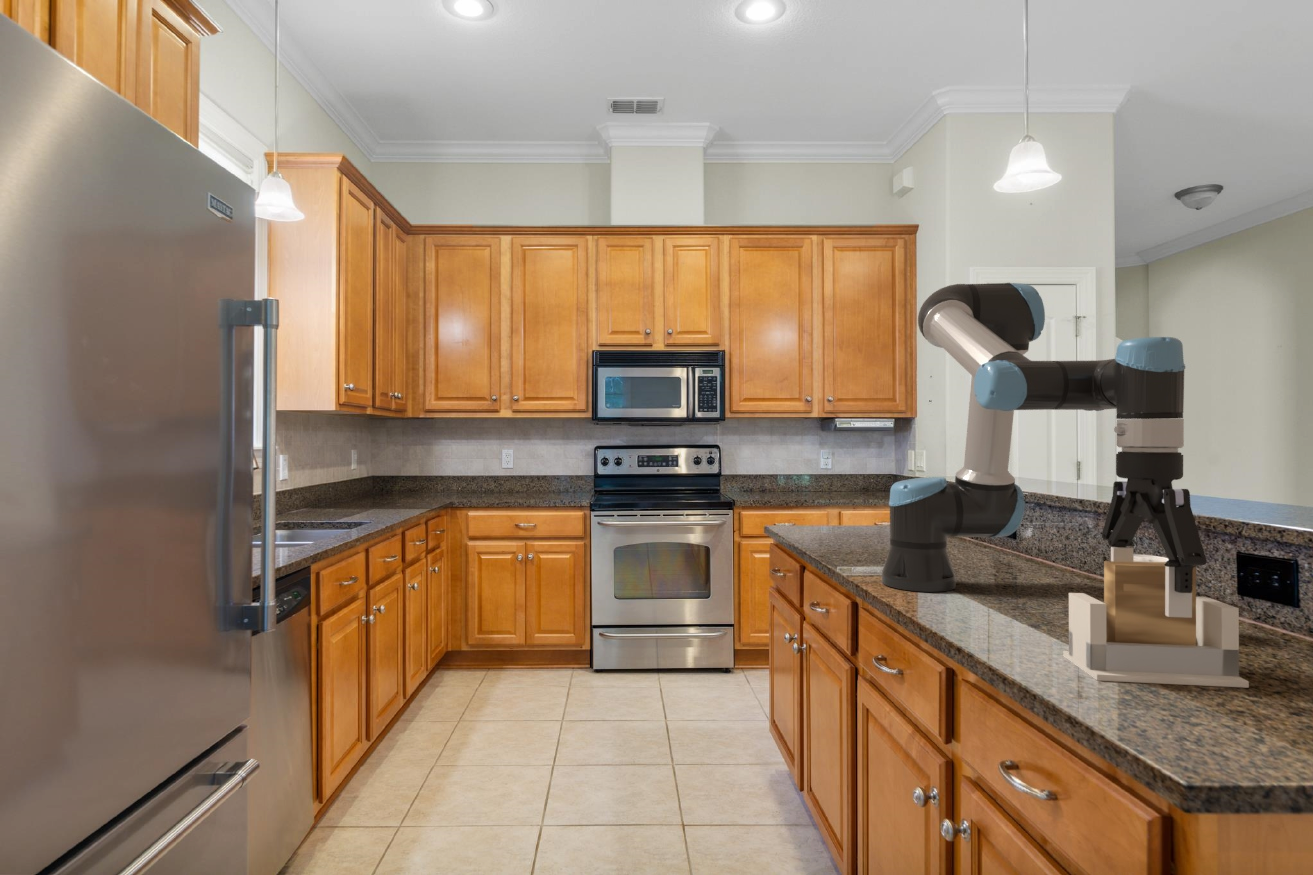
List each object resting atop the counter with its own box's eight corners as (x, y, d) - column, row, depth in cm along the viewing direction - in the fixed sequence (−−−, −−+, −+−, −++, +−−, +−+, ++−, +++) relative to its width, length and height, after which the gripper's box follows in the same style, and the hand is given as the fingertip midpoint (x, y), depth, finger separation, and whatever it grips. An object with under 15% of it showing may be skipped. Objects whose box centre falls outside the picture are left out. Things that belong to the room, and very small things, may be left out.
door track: (1063, 656, 99) (1063, 589, 99) (1198, 661, 96) (1198, 593, 96) (1097, 680, 89) (1096, 606, 89) (1248, 687, 86) (1248, 611, 86)
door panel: (1103, 659, 95) (1103, 560, 95) (1181, 662, 94) (1181, 562, 94) (1115, 667, 92) (1115, 565, 92) (1196, 670, 90) (1196, 567, 90)
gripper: (1077, 447, 106) (1076, 581, 106) (1174, 453, 81) (1173, 628, 81) (1129, 447, 105) (1128, 583, 105) (1243, 453, 80) (1242, 630, 80)
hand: (1148, 603), depth 93 cm, fingers open, 13 cm apart
